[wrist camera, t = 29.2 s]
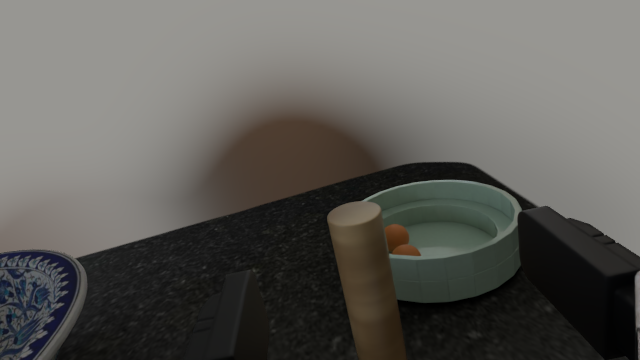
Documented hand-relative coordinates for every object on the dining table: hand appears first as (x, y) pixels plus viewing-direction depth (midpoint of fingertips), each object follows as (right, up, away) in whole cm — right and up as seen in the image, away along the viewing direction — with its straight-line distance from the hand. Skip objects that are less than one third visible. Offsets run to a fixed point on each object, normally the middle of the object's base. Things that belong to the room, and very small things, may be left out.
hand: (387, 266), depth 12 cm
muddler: (+3, -12, +16) cm, 21 cm away
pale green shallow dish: (+10, -5, +31) cm, 33 cm away
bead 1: (+6, -4, +32) cm, 33 cm away
